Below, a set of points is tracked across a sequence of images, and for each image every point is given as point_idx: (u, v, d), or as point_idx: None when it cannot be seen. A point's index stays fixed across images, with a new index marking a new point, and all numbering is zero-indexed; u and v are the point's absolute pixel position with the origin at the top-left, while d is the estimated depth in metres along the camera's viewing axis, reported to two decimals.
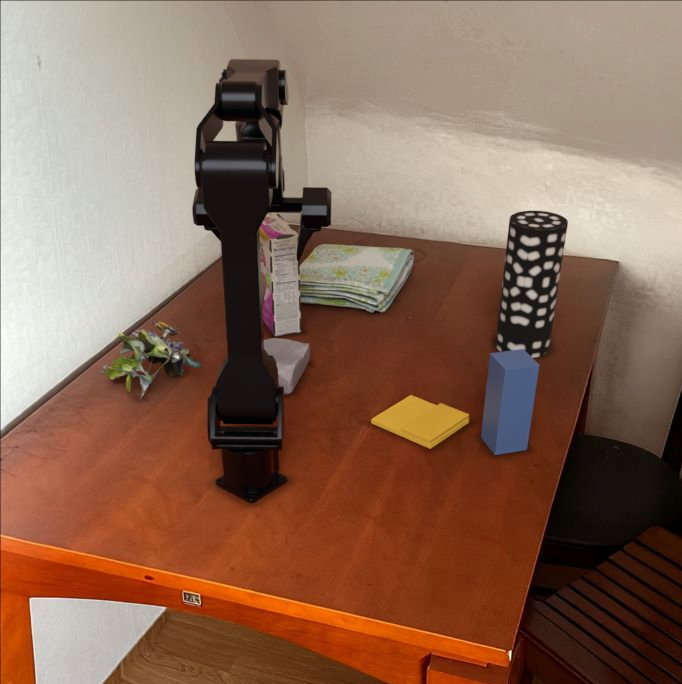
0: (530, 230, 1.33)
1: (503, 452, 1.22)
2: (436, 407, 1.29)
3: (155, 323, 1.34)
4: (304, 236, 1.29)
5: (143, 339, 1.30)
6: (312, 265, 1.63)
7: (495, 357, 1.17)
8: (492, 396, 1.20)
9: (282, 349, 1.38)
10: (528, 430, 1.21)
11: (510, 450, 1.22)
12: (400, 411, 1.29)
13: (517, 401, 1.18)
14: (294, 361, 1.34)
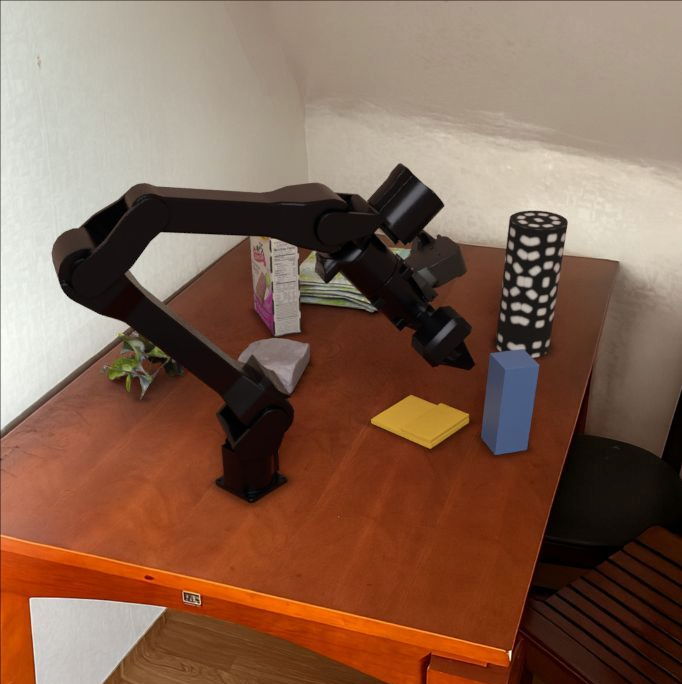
0: (530, 230, 1.33)
1: (503, 452, 1.22)
2: (436, 407, 1.29)
3: None
4: None
5: (143, 339, 1.30)
6: (312, 265, 1.63)
7: (495, 357, 1.17)
8: (492, 396, 1.20)
9: (282, 349, 1.38)
10: (528, 430, 1.21)
11: (510, 450, 1.22)
12: (400, 411, 1.29)
13: (517, 401, 1.18)
14: (294, 361, 1.34)
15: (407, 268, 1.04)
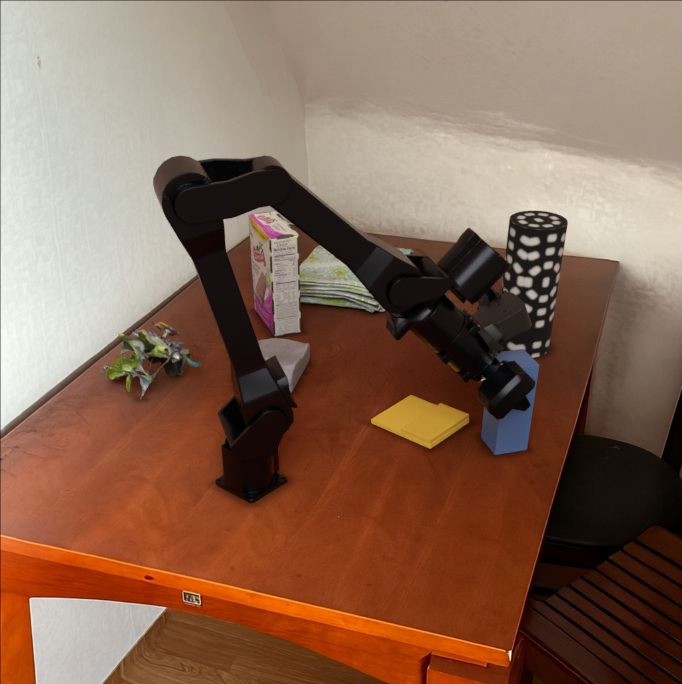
0: (530, 230, 1.33)
1: (503, 452, 1.22)
2: (436, 407, 1.29)
3: (155, 323, 1.34)
4: None
5: (143, 339, 1.30)
6: (312, 265, 1.63)
7: None
8: None
9: (282, 349, 1.38)
10: (528, 430, 1.21)
11: (510, 450, 1.22)
12: (400, 411, 1.29)
13: None
14: (294, 361, 1.34)
15: (474, 325, 1.10)
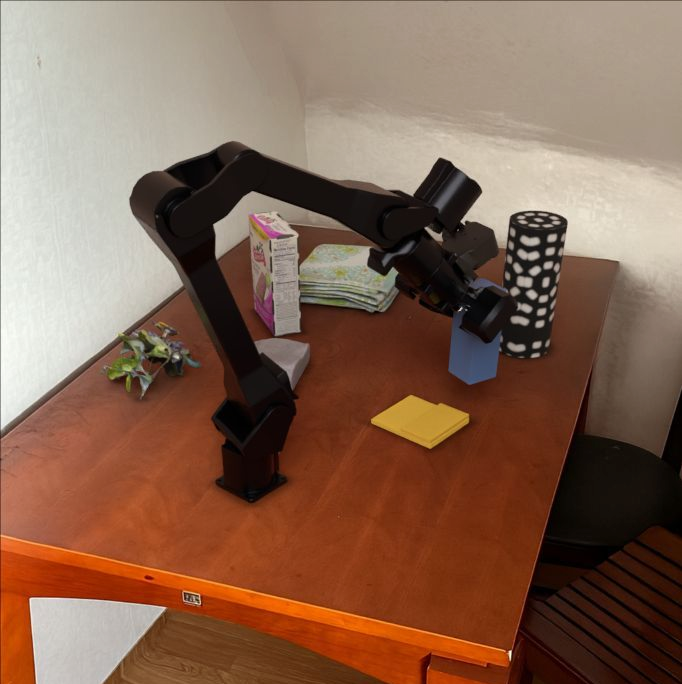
0: (530, 230, 1.33)
1: (476, 381, 1.25)
2: (436, 407, 1.29)
3: (155, 323, 1.34)
4: None
5: (143, 339, 1.30)
6: (312, 265, 1.63)
7: None
8: None
9: (282, 349, 1.38)
10: (497, 356, 1.25)
11: (482, 378, 1.26)
12: (400, 411, 1.29)
13: None
14: (294, 361, 1.34)
15: (452, 254, 1.12)
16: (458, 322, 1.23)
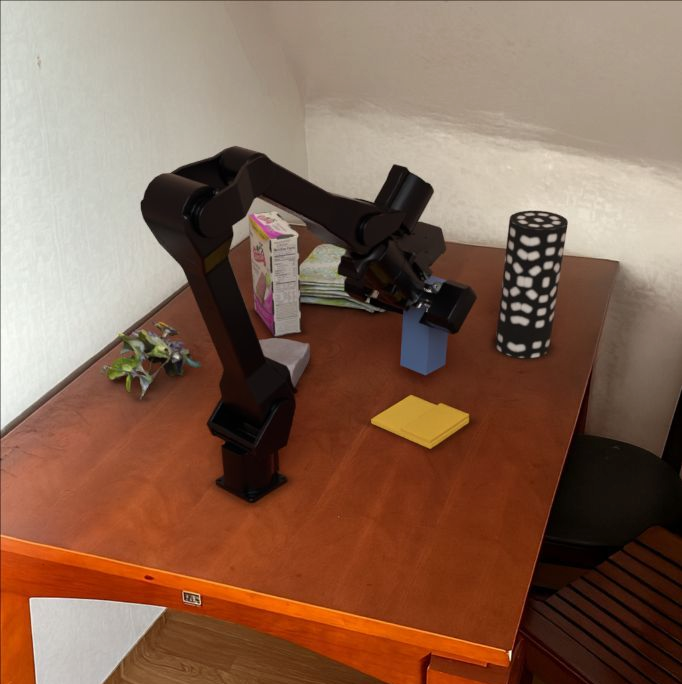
0: (530, 230, 1.33)
1: (430, 371, 1.33)
2: (436, 407, 1.29)
3: (155, 323, 1.34)
4: None
5: (143, 339, 1.30)
6: (312, 265, 1.63)
7: None
8: (414, 321, 1.29)
9: (282, 349, 1.38)
10: (446, 345, 1.33)
11: (435, 367, 1.33)
12: (400, 411, 1.29)
13: None
14: (294, 361, 1.34)
15: (411, 254, 1.18)
16: (409, 317, 1.29)
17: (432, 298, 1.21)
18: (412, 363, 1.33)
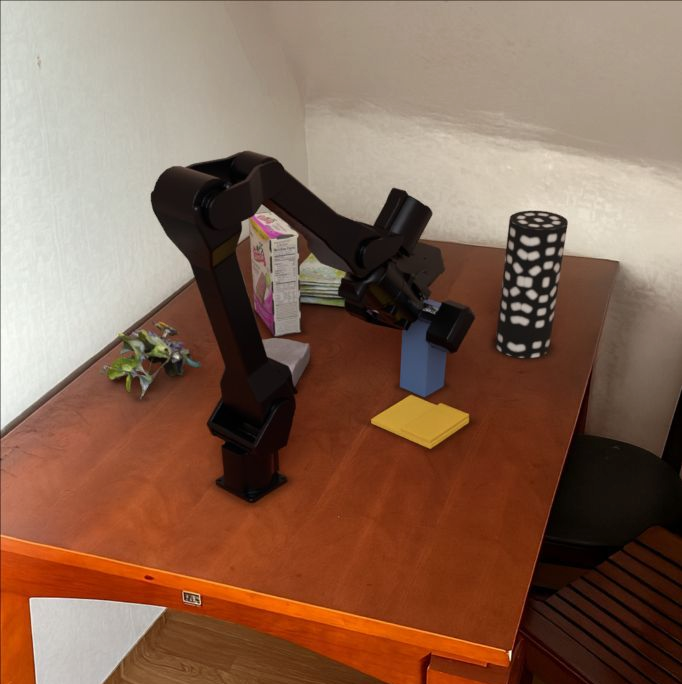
0: (530, 230, 1.33)
1: (429, 393, 1.35)
2: (436, 407, 1.29)
3: (155, 323, 1.34)
4: None
5: (143, 339, 1.30)
6: (312, 265, 1.63)
7: None
8: (413, 345, 1.31)
9: (281, 349, 1.38)
10: (444, 367, 1.35)
11: (434, 389, 1.35)
12: (400, 411, 1.29)
13: None
14: (294, 361, 1.34)
15: (411, 275, 1.20)
16: (408, 341, 1.31)
17: (431, 318, 1.23)
18: (411, 385, 1.35)
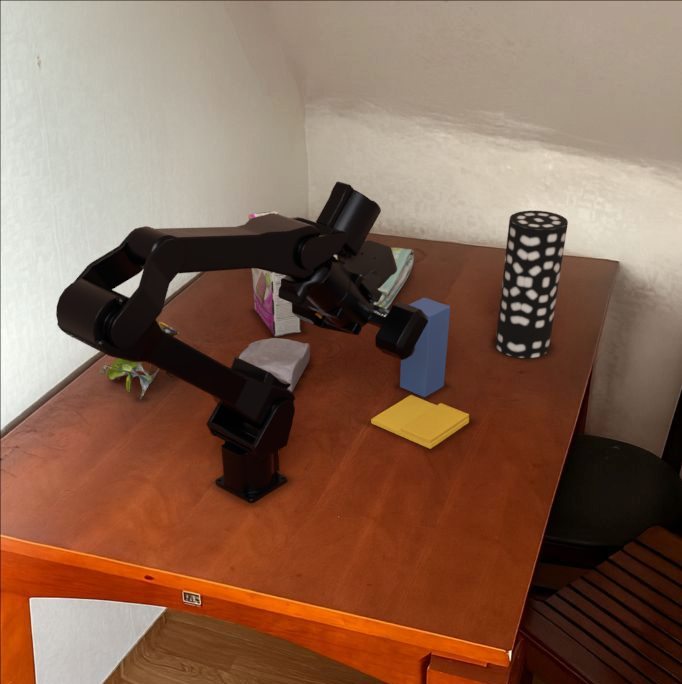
0: (530, 230, 1.33)
1: (429, 393, 1.35)
2: (436, 407, 1.29)
3: None
4: None
5: None
6: None
7: None
8: None
9: (281, 349, 1.38)
10: (444, 367, 1.35)
11: (434, 389, 1.35)
12: (400, 411, 1.29)
13: (437, 343, 1.31)
14: (294, 361, 1.34)
15: (358, 276, 1.12)
16: None
17: (381, 321, 1.15)
18: (411, 385, 1.35)
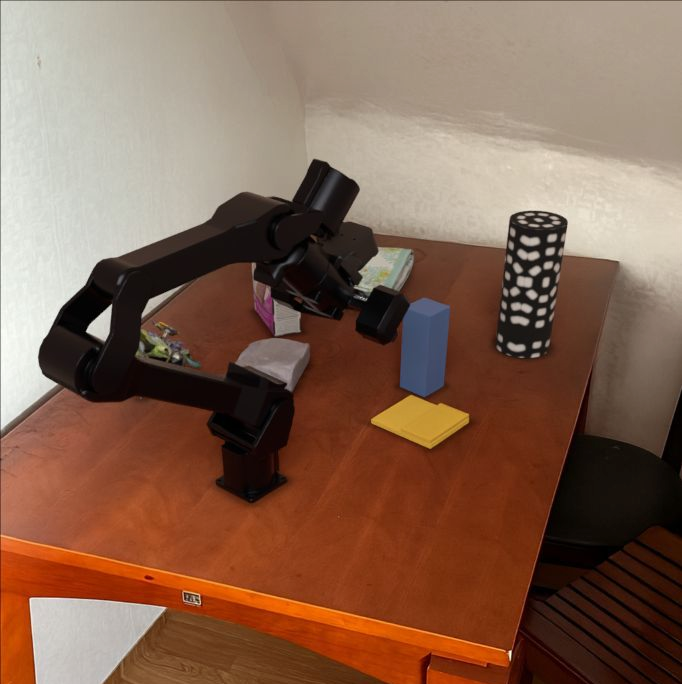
0: (530, 230, 1.33)
1: (429, 393, 1.35)
2: (436, 407, 1.29)
3: (155, 323, 1.34)
4: None
5: (143, 339, 1.30)
6: None
7: (411, 309, 1.29)
8: (413, 345, 1.31)
9: (281, 349, 1.38)
10: (444, 367, 1.35)
11: (434, 389, 1.35)
12: (400, 411, 1.29)
13: (437, 343, 1.31)
14: (294, 361, 1.34)
15: (337, 258, 1.08)
16: (408, 341, 1.31)
17: (362, 305, 1.11)
18: (411, 385, 1.35)
